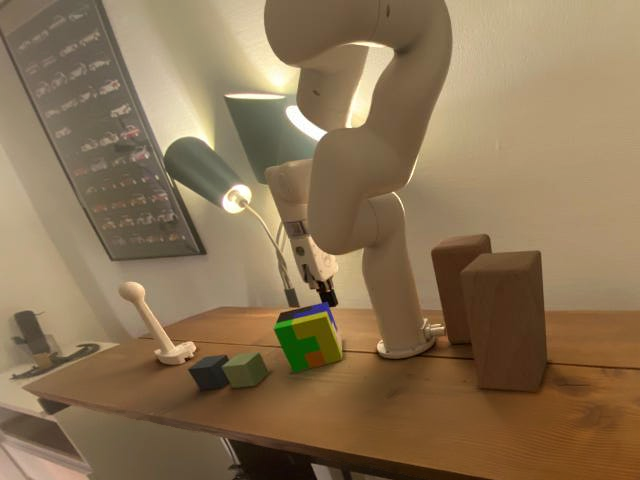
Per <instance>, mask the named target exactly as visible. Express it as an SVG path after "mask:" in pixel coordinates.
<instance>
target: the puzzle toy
mask: <svg viewBox="0 0 640 480" xmlns="http://www.w3.org/2000/svg"><path fill="white" fill-rule="evenodd" d="M273 332H274V334H275V335H276V338H277V340H278V342H279V344H280V347H281V349H282V351H283V353H284V356H285V358H286V360H287V362H288V365H289V366H290V369H291V371H292V373H293V374H294V373H297V372H302V371H306V370H308V369H313V368H316V367H320V366H323V365H328V364H330V363H335V362H339V361H343V340H342V338H341V335H340V333H339V330H338V327H337V324H336V321H335V318H334V316H333V313H332V310H331V307H329V304H328V302H325V303H322V302H321V303H316V304H312V305H307V306H303V307H300V308H299V307H298V308H295V309H291V310H286V311H282V312H280V313H279V315H278V317H277V320H276V323H275V324H274V327H273Z"/></svg>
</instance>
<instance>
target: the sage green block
mask: <svg viewBox="0 0 640 480" xmlns="http://www.w3.org/2000/svg"><path fill="white" fill-rule="evenodd" d="M222 369H223V371H224V373H225V374H226V376H227V378H228V380H229V383H230V385H231V387H232V388H233V389H237V388H247V387H256V386H257V385H258V384H259V383H260V382H261V381H262V380H263V379H264V378H266V377H267V376H268V375H269V374H270V371H269V369H268V367H267V365H266V363H265V361H264V359H263V357H262V355H261V353H260V352H259V351H258V352H248V353H247V352H246V353H239V354H236V355H234V356H233V357H232V358H231V359H229V361H228V362H227V363H226V364H224V365H223V366H222Z"/></svg>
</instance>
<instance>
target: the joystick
mask: <svg viewBox="0 0 640 480" xmlns="http://www.w3.org/2000/svg"><path fill="white" fill-rule="evenodd" d="M118 294H119V296H120V297H121V298H122V299H123V300H125V301H128V302H130V303H132V304H133V306H134V307H135V309H136V311H137V312H138V314H139V316H140V317H141V320H142V321H143V322H144V324H145V326H146V327H147V329H148V331H149V333H150V335H151V336H152V338H153V339H154V341H155V342H156V345H157V347H158V349H155V350H154V351H153V353H154V354H155V356H156V357H157V359H158V361H159V362H160V363H162V364H165V365H172V366H173V365H182V364H184V363H186V360H185V359H188V358H193V357H194V356H195V355H194V354H193V353H195V352H196V350H197V347H196V345H195V343H194V342H193V341H190V340H189V341H186V342H185V341H184V342H182V343H180V344H178V345H174V344H173V341H172V340H171V339H170V338H169V335H168V334H167V333H166V332H165V330H164V328H163V327H162V325H161V324H160V323H159V321H158V319H157V318H156V317H155V315H154V313H153V312H152V310H151V309H150V307H149V306H148V304H147V303H146V301H145V297H146V289H145V287H144V286H143V285H142V284H140V283H138V282H135V281H126V282H123V283H121V284H120V285H119V287H118Z"/></svg>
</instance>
